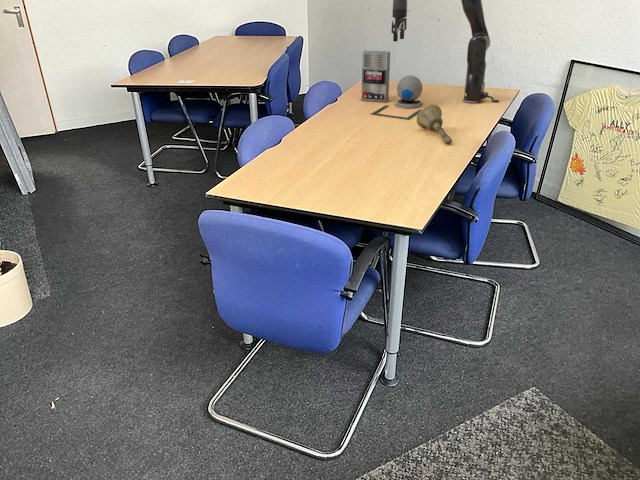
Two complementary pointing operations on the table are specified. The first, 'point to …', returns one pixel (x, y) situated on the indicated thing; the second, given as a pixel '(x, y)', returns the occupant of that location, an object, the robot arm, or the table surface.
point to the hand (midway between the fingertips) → (398, 40)
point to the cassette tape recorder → (375, 75)
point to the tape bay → (394, 116)
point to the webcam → (409, 92)
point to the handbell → (432, 120)
